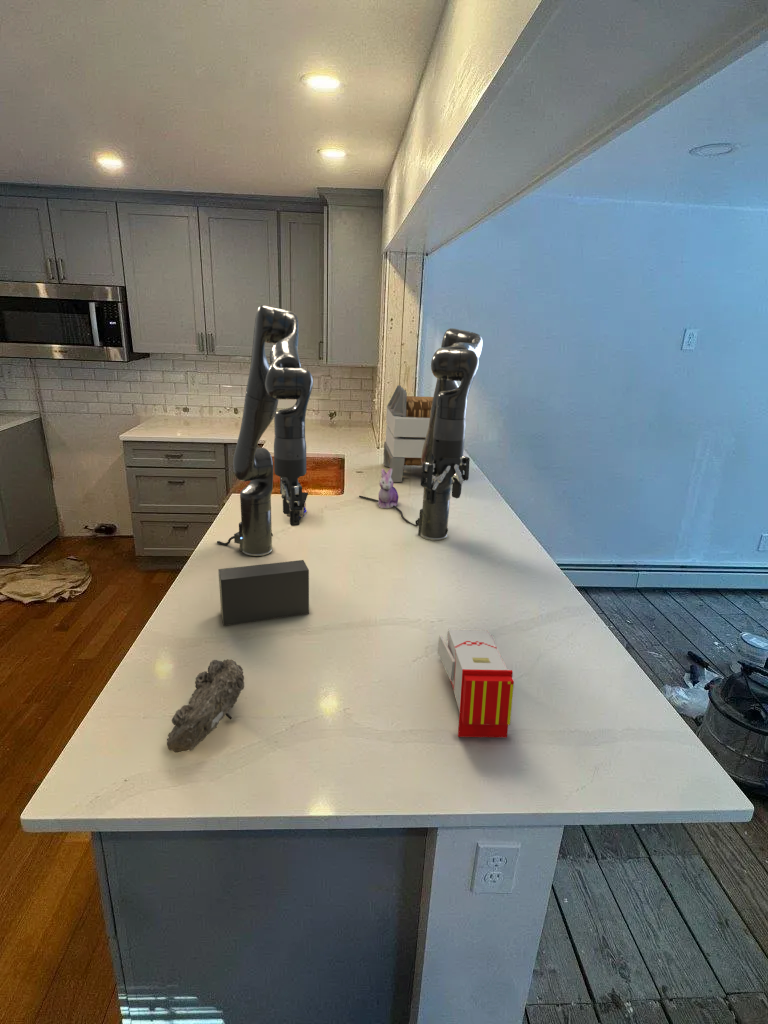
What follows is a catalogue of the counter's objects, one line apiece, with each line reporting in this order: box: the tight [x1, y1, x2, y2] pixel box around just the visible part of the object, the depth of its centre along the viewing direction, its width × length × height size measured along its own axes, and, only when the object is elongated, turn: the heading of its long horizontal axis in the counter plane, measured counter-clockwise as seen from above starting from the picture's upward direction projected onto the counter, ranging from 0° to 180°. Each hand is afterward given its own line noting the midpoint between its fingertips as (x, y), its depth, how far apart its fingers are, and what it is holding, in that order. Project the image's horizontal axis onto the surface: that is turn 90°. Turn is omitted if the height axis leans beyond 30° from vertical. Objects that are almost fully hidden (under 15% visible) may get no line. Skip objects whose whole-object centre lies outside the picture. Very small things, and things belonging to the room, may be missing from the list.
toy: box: [437, 628, 515, 738], centre depth 117 cm, size 12×13×30 cm
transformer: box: [383, 384, 454, 484], centre depth 268 cm, size 34×33×41 cm
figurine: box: [377, 467, 399, 509], centre depth 226 cm, size 9×10×15 cm
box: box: [218, 559, 310, 627], centre depth 143 cm, size 21×6×12 cm, turn 111°
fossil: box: [166, 658, 245, 754], centre depth 106 cm, size 22×10×15 cm
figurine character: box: [286, 491, 309, 521], centre depth 211 cm, size 7×8×15 cm
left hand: (291, 519), depth 139 cm, fingers open, 8 cm apart
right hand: (443, 500), depth 140 cm, fingers open, 8 cm apart
